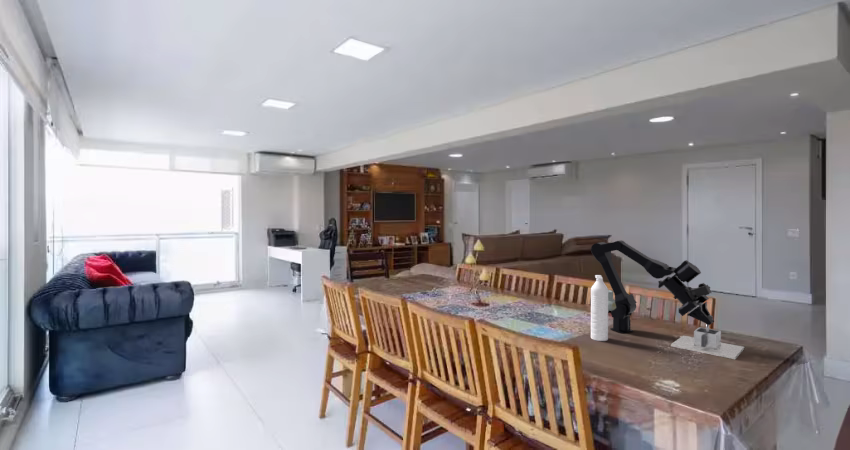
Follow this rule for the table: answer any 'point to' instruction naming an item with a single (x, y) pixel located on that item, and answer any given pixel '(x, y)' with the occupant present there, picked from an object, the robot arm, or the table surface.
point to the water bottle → (599, 310)
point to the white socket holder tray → (708, 344)
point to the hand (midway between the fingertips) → (712, 323)
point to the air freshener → (611, 301)
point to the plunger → (711, 322)
